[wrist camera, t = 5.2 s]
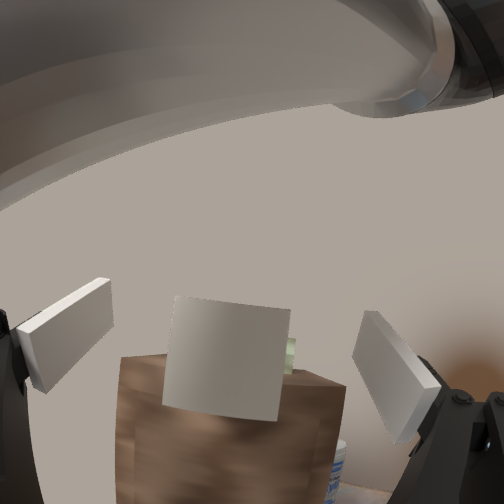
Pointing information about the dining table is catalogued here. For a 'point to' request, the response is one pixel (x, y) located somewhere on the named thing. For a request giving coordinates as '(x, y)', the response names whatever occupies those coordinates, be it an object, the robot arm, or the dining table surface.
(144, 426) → the shelf
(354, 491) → the dining table surface
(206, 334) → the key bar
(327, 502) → the supplement tub
